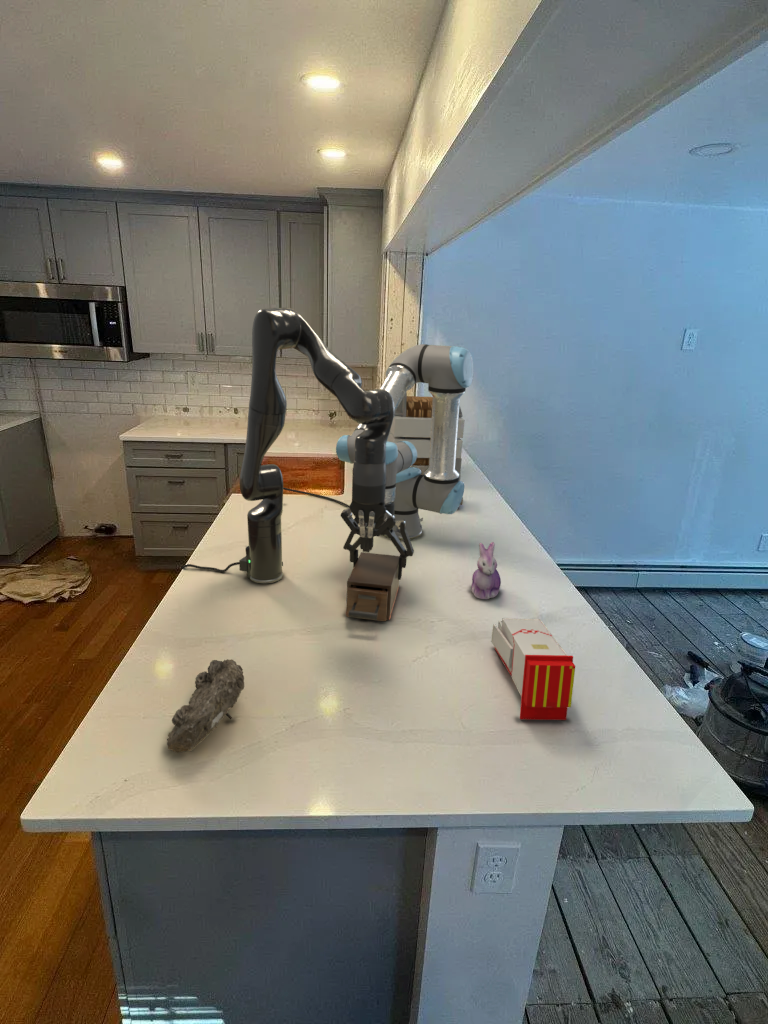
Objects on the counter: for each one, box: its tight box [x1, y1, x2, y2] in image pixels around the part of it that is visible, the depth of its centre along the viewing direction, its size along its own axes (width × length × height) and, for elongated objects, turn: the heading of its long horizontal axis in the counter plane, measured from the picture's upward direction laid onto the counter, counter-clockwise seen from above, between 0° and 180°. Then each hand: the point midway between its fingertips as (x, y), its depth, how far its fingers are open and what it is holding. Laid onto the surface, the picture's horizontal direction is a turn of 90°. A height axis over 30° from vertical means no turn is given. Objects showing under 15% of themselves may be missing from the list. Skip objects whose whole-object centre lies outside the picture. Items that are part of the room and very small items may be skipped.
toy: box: [490, 617, 576, 721], centre depth 122 cm, size 12×13×30 cm
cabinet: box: [345, 551, 400, 621], centre depth 152 cm, size 18×11×10 cm, turn 171°
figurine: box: [470, 541, 502, 600], centre depth 158 cm, size 9×10×15 cm
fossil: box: [166, 658, 245, 754], centre depth 106 cm, size 22×10×15 cm
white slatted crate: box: [387, 392, 465, 481], centre depth 268 cm, size 34×33×41 cm
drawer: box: [346, 585, 388, 622], centre depth 147 cm, size 23×10×8 cm, turn 171°
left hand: (366, 550), depth 133 cm, fingers closed
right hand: (377, 575), depth 156 cm, fingers open, 12 cm apart
